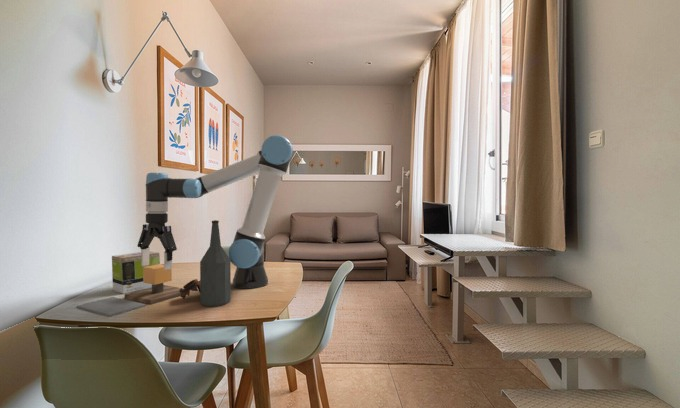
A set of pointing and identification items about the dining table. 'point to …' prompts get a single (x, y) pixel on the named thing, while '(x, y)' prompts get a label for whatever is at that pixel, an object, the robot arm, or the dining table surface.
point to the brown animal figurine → (190, 288)
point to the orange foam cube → (156, 274)
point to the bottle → (215, 272)
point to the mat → (111, 306)
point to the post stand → (154, 294)
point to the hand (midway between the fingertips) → (156, 267)
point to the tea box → (131, 271)
